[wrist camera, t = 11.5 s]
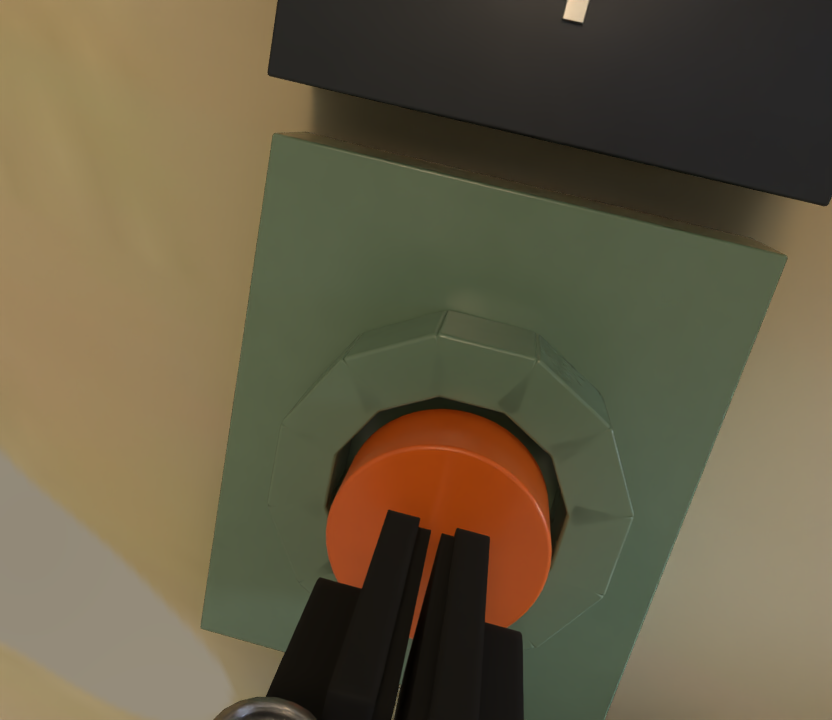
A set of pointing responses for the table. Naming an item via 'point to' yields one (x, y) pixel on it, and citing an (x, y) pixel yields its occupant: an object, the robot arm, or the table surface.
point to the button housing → (480, 382)
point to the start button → (448, 503)
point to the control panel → (595, 76)
